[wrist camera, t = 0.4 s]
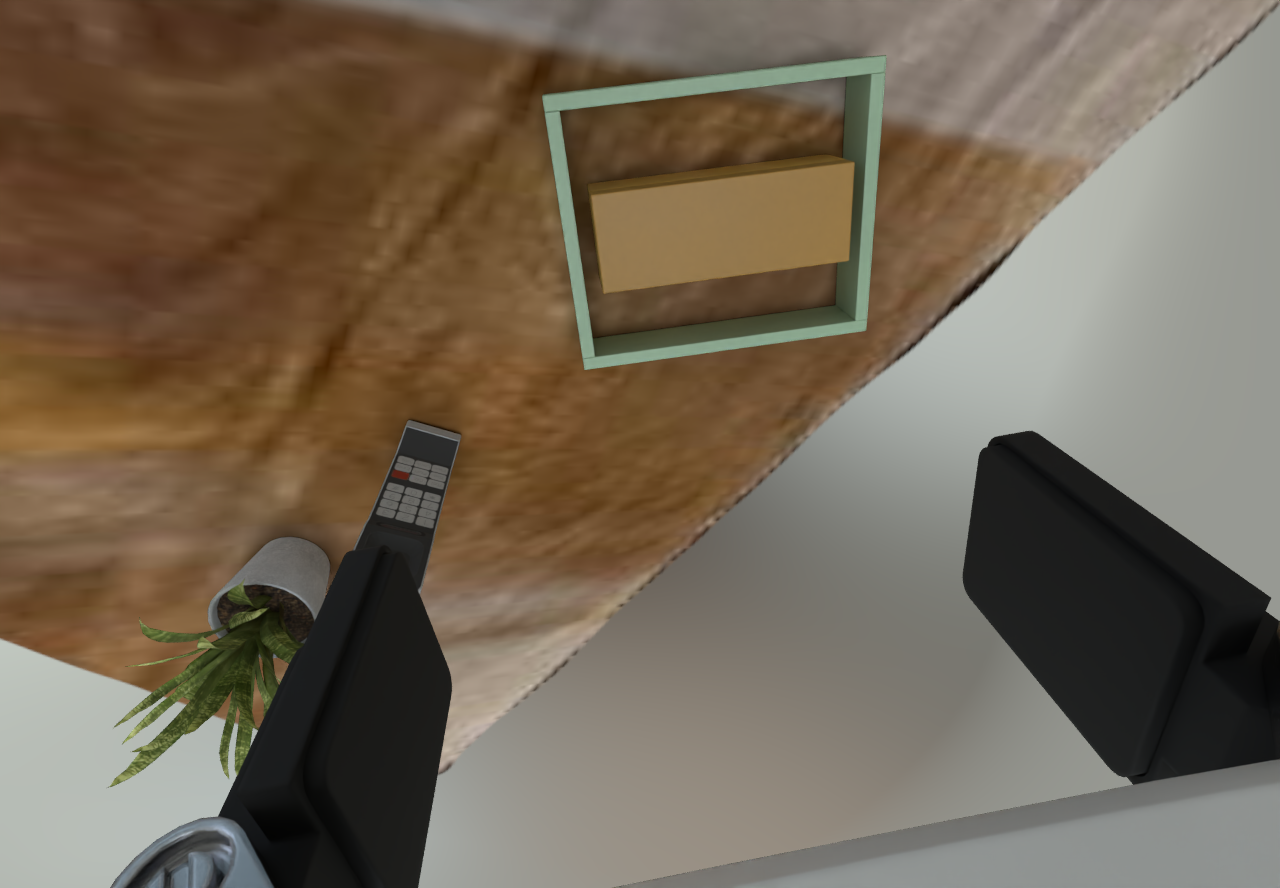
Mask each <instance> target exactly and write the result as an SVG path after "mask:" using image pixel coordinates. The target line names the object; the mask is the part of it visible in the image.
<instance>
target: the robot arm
mask: <svg viewBox="0 0 1280 888" xmlns="http://www.w3.org/2000/svg"><path fill="white" fill-rule="evenodd" d="M963 584H964V587H965V590H966V592H967V594H968V596H969V598H970V599H971V600H972V601H973V603H974V604H975V605H976V606H977V608H978V609H979V610H980V611H981V612H982V614H983V615H984V616H985V617H986V619H988V621H989V622H990V623H991V625H992V626H993V627H994V628H995V629H996V630H997V632H998V633H999V634H1000V635H1001V637H1002V638H1003V639H1004V640H1005V642H1006V643H1007V644H1008V645H1009V646H1010V648H1011V649H1012V650H1013V651H1014V652H1015V654H1016V655H1017V656H1018V657H1019V659H1020V660H1021V661H1022V662H1023V663H1024V665H1025V666H1026V667H1027V668H1028V670H1029V671H1030V672H1031V673H1032V675H1033V676H1034V677H1035V678H1036V679H1037V681H1038V682H1039V683H1040V684H1041V685H1042V687H1043V688H1044V689H1045V690H1046V692H1047V693H1048V694H1049V695H1050V696H1051V698H1052V699H1053V700H1054V701H1055V703H1056V704H1057V705H1058V706H1059V707H1060V709H1061V710H1062V711H1063V712H1064V714H1065V715H1066V716H1067V717H1068V718H1069V720H1070V721H1071V722H1072V723H1073V724H1074V726H1075V727H1076V728H1077V729H1078V730H1079V732H1080V733H1081V734H1082V735H1083V737H1084V738H1085V739H1086V740H1087V741H1088V743H1089V744H1090V745H1091V746H1092V748H1093V749H1094V750H1095V751H1096V752H1097V754H1098V755H1099V756H1100V757H1101V759H1102V760H1103V761H1104V762H1105V763H1106V765H1107V766H1108V767H1109V768H1110V769H1111V770H1112V771H1113V772H1114V773H1116V774H1117V775H1119V776H1122V777H1127V778H1128V779H1129V780H1130V781H1131V782H1132V784H1133V785H1131V786H1125V787H1120V788H1114V789H1110V790H1104V791H1099V792H1094V793H1088V794H1083V795H1078V796H1073V797H1068V798H1063V799H1057V800H1052V801H1047V802H1042V803H1037V804H1032V805H1026V806H1021V807H1016V808H1011V809H1006V810H1000V811H995V812H990V813H985V814H980V815H974V816H969V817H964V818H959V819H954V820H948V821H943V822H939V823H934V824H929V825H923V826H918V827H913V828H908V829H903V830H898V831H893V832H888V833H883V834H877V835H873V836H868V837H863V838H857V839H852V840H847V841H842V842H837V843H832V844H827V845H822V846H817V847H812V848H807V849H802V850H797V851H792V852H787V853H782V854H777V855H772V856H767V857H762V858H757V859H752V860H747V861H742V862H737V863H731V864H727V865H722V866H717V867H712V868H707V869H702V870H697V871H692V872H687V873H683V874H677V875H673V876H668V877H663V878H658V879H653V880H648V881H643V882H638V883H633V884H628V885H624V886H619V887H614V888H1280V621H1278V620H1277V619H1275V618H1274V617H1273V616H1272V615H1270V614H1269V613H1267V612H1266V609H1267V606H1268V604H1269V602H1270V600H1271V597H1269V596H1268V595H1266V594H1265V593H1264V592H1262V591H1261V590H1259V589H1258V588H1256V587H1255V586H1254V585H1252V584H1251V583H1249V582H1248V581H1247V580H1245V579H1244V578H1242V577H1241V576H1240V575H1238V574H1237V573H1235V572H1234V571H1232V570H1231V569H1230V568H1228V567H1227V566H1225V565H1224V564H1222V563H1221V562H1220V561H1218V560H1217V559H1215V558H1214V557H1212V556H1211V555H1210V554H1208V553H1207V552H1205V551H1204V550H1202V549H1201V548H1199V547H1198V546H1197V545H1195V544H1194V543H1193V542H1191V541H1190V540H1188V539H1187V538H1186V537H1184V536H1183V535H1181V534H1180V533H1178V532H1177V531H1176V530H1174V529H1173V528H1171V527H1169V526H1168V525H1167V524H1165V523H1164V522H1163V521H1161V520H1160V519H1158V518H1157V517H1156V516H1154V515H1153V514H1151V513H1150V512H1148V511H1147V510H1146V509H1144V508H1143V507H1142V506H1140V505H1139V504H1137V503H1136V502H1134V501H1133V500H1132V499H1130V498H1129V497H1127V496H1126V495H1124V494H1123V493H1122V492H1120V491H1119V490H1117V489H1116V488H1115V487H1113V486H1112V485H1110V484H1109V483H1107V482H1106V481H1105V480H1103V479H1102V478H1100V477H1099V476H1097V475H1096V474H1095V473H1093V472H1092V471H1090V470H1089V469H1087V468H1086V467H1085V466H1083V465H1082V464H1080V463H1079V462H1078V461H1076V460H1075V459H1073V458H1072V457H1070V456H1069V455H1068V454H1066V453H1065V452H1063V451H1062V450H1061V449H1059V448H1058V447H1056V446H1055V445H1053V444H1052V443H1051V442H1049V441H1048V440H1046V439H1045V438H1043V437H1042V436H1041V435H1039V434H1038V433H1035V432H1033V431H1025V432H1020V433H1014V434H1008V435H1003V436H998V437H994V438H993V439H991V441H990V442H989V444H988V447H987V448H984V449H982V450H981V452H980V455H979V459H978V467H977V474H976V481H975V488H974V496H973V503H972V510H971V518H970V525H969V532H968V540H967V547H966V555H965V562H964V569H963ZM451 693H452V682H451V675H450V671H449V668H448V666H447V663H446V660H445V658H444V655H443V653H442V650H441V648H440V645H439V643H438V640H437V637H436V635H435V632H434V630H433V627H432V625H431V622H430V620H429V617H428V615H427V612H426V609H425V607H424V604H423V602H422V599H421V597H420V594H419V592H418V589H417V587H416V584H415V581H414V579H413V576H412V574H411V571H410V569H409V566H408V564H407V561H406V559H405V557H404V555H403V554H402V553H401V552H395V553H392V551H391V549H390V548H389V547H388V546H386V545H381V546H376V547H370V548H364V549H359V550H353V551H349V552H347V553H346V555H345V556H344V558H343V560H342V562H341V564H340V567H339V569H338V571H337V573H336V575H335V578H334V580H333V582H332V584H331V586H330V589H329V591H328V593H327V595H326V597H325V599H324V602H323V604H322V606H321V608H320V610H319V613H318V615H317V617H316V619H315V621H314V624H313V626H312V628H311V630H310V632H309V634H308V637H307V639H306V641H305V643H304V645H303V646H302V647H301V648H299V649H298V650H297V651H296V653H295V654H294V656H293V658H292V659H291V661H290V664H289V666H288V668H287V670H286V672H285V674H284V676H283V679H282V681H281V683H280V685H279V687H278V689H277V691H276V694H275V696H274V698H273V700H272V702H271V704H270V706H269V709H268V711H267V713H266V715H265V717H264V719H263V721H262V724H261V726H260V728H259V730H258V732H257V734H256V736H255V739H254V741H253V743H252V745H251V747H250V749H249V751H248V754H247V756H246V758H245V760H244V762H243V764H242V766H241V768H240V771H239V773H238V775H237V777H236V779H235V782H234V783H233V786H232V788H231V790H230V792H229V794H228V797H227V799H226V801H225V803H224V805H223V807H222V809H221V811H220V814H219V816H218V817H210V818H201V819H198V820H195V821H193V822H190V823H187V824H185V825H182V826H179V827H177V828H176V829H174V830H172V831H171V832H169V833H167V834H166V835H164V836H162V837H161V838H159V839H157V840H156V841H155V842H153V843H152V844H151V845H150V846H149V847H147V848H146V849H145V850H144V851H143V852H141V853H140V854H139V855H138V856H136V857H135V858H134V860H132V862H131V863H130V864H129V865H128V866H127V867H126V868H125V869H124V870H123V872H122V873H121V874H120V875H119V876H118V877H117V878H116V880H115V881H114V883H113V884H112V886H111V887H110V888H418V885H419V878H420V873H421V867H422V861H423V856H424V850H425V844H426V838H427V833H428V827H429V821H430V815H431V810H432V803H433V798H434V792H435V787H436V780H437V775H438V769H439V763H440V758H441V752H442V746H443V740H444V735H445V729H446V723H447V717H448V712H449V706H450V700H451Z"/></svg>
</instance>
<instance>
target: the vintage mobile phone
mask: <svg viewBox="0 0 1280 888" xmlns="http://www.w3.org/2000/svg"><path fill="white" fill-rule="evenodd" d="M460 439H461V435H460V434H456V433H453V432H449V431H446V430H442V429H439V428H435V427H432V426H428V425H425V424H421V423H418V422H414V421H411V420H408V422H407V424H406V426H405V429H404V432H403V435H402V438H401V440H400V443H399V446H398V449H397V452H396V454H395V457H394V459H393V461H392V464H391V466H390V468H389V471H388V473H387V475H386V478H385V480H384V483H383V485H382V487H381V490H380V492H379V494H378V497H377V499H376V501H375V504H374V506H373V509H372V511H371V513H370V516H369V518H368V520H367V521H366V523H365V525H364V527H363V529H362V531H361V534H360V536H359V538H358V540H357V542H356V545H355V547H354V549H353V550H359V549H364V548H370V547H376V546H381V545H386V546H388V547H389V548H390V549H391V551H392V553H395V552H401V553H402V554H403V555H404V557H405V559H406V561H407V564H408V566H409V569H410V571H411V574H412V576H413V579H414V581H415V584H416V587H417V589H418V592H419V594H420V592H421V589H422V586H423V582H424V578H425V574H426V570H427V566H428V562H429V558H430V554H431V550H432V546H433V542H434V537H435V533H436V529H437V525H438V521H439V517H440V514H441V510H442V506H443V502H444V498H445V494H446V491H447V487H448V483H449V479H450V475H451V471H452V468H453V464H454V460H455V457H456V453H457V450H458V446H459V443H460Z"/></svg>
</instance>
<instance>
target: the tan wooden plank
mask: <svg viewBox="0 0 1280 888" xmlns="http://www.w3.org/2000/svg"><path fill="white" fill-rule="evenodd" d="M854 166H855V162H853V161H850V160H846V159H843V158H839V157H836V156H832V155H828V154H822V155H814V156H806V157H798V158H790V159H782V160H774V161H766V162H758V163H750V164H742V165H734V166H726V167H718V168H710V169H702V170H694V171H686V172H678V173H670V174H662V175H654V176H646V177H638V178H630V179H622V180H614V181H606V182H598V183H590V184H587V190H588V197H589V205H590V212H591V220H592V227H593V235H594V242H595V250H596V258H597V265H598V273H599V278H600V282H601V286H602V290H603V293H604V294H606V293H614V292H621V291H628V290H636V289H643V288H651V287H658V286H666V285H673V284H681V283H688V282H696V281H703V280H711V279H718V278H726V277H733V276H741V275H748V274H756V273H763V272H771V271H778V270H786V269H793V268H800V267H808V266H815V265H823V264H830V263H838V262H845V261H849V253H850V236H851V218H852V201H853V183H854Z"/></svg>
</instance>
